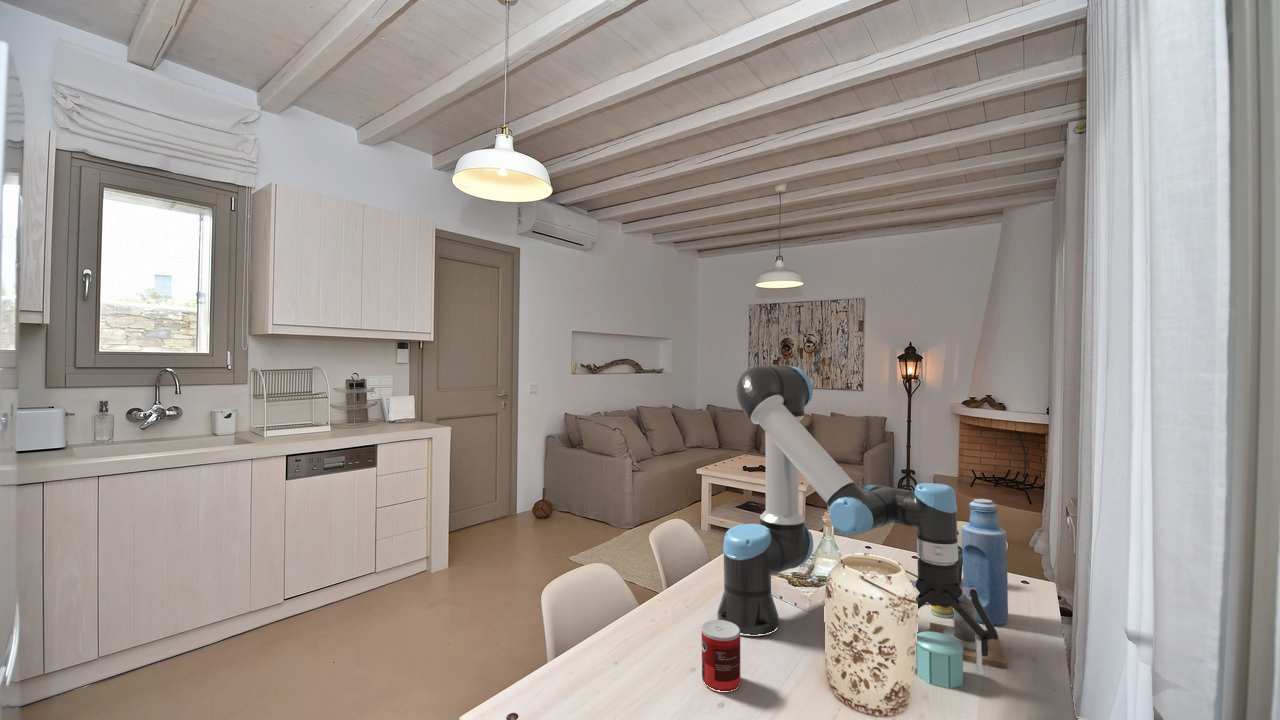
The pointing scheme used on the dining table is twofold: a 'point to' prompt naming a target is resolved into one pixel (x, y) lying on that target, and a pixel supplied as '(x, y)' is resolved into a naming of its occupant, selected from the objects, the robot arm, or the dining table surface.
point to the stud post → (971, 637)
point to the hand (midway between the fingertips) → (940, 663)
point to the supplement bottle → (941, 611)
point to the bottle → (986, 560)
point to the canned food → (721, 655)
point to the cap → (939, 659)
